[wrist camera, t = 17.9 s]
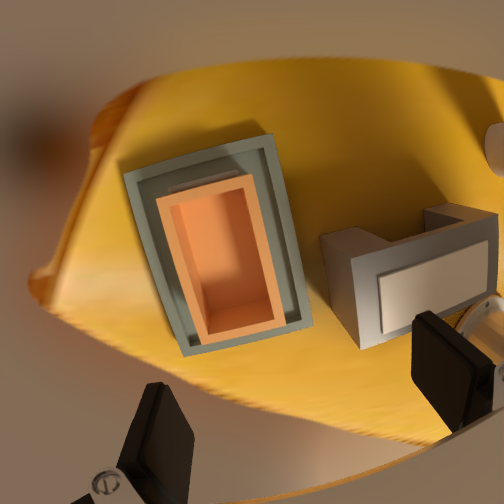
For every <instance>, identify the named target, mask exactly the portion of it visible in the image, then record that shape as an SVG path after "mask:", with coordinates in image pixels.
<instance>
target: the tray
mask: <svg viewBox="0 0 504 504" xmlns="http://www.w3.org/2000/svg"><path fill="white" fill-rule="evenodd" d="M232 170H237V171H238V172H239V175H244V174H252V176H253V180H254V184H255V189H256V193H257V197H258V201H259V206H260V210H261V214H262V218H263V223H264V227H265V231H266V236H267V240H268V245H269V249H270V253H271V258H272V262H273V267H274V271H275V275H276V280H277V284H278V289H279V293H280V298H281V303H282V307H283V312H284V316H285V321H286V326H282V327H278V328H274V329H270V330H266V331H262V332H258V333H254V334H250V335H246V336H242V337H237V338H233V339H228V340H224V341H219V342H215V343H210V344H205V345H202V344H201V342H200V339H199V336H198V333H197V330H196V328H195V325H194V322H193V319H192V316H191V313H190V310H189V307H188V304H187V301H186V298H185V295H184V292H183V289H182V286H181V283H180V280H179V277H178V274H177V271H176V267H175V264H174V261H173V258H172V254H171V251H170V248H169V244H168V241H167V237H166V234H165V231H164V227H163V224H162V220H161V216H160V213H159V209H158V205H157V202H156V199H157V198H160V197H162V196H165V195H168V194H170V193H169V192H168V188H169V187H172V186H175V185H179V184H182V183H186V182H190V181H193V180H197V179H201V178H205V177H208V176H212V175H216V174H220V173H224V172H228V171H232ZM239 175H238V176H239ZM123 176H124V180H125V184H126V188H127V191H128V195H129V199H130V202H131V206H132V210H133V213H134V217H135V220H136V224H137V227H138V230H139V234H140V237H141V240H142V243H143V247H144V250H145V253H146V256H147V259H148V262H149V265H150V268H151V271H152V274H153V277H154V280H155V283H156V286H157V289H158V291H159V294H160V297H161V300H162V303H163V305H164V308H165V311H166V313H167V316H168V319H169V321H170V324H171V327H172V329H173V332H174V334H175V337H176V339H177V342H178V344H179V347H180V349H181V352H182V354H183V357H187V356H192V355H197V354H201V353H206V352H211V351H216V350H220V349H225V348H229V347H234V346H238V345H242V344H247V343H251V342H255V341H259V340H263V339H267V338H271V337H275V336H279V335H282V334H286V333H290V332H294V331H297V330H301V329H304V328H308V327H312V326H314V325H313V319H312V314H311V308H310V303H309V297H308V292H307V287H306V282H305V277H304V271H303V266H302V261H301V256H300V252H299V247H298V242H297V237H296V232H295V228H294V223H293V218H292V214H291V209H290V205H289V200H288V196H287V191H286V187H285V183H284V178H283V174H282V170H281V165H280V161H279V157H278V153H277V149H276V145H275V141H274V137H273V133H271V134H266V135H262V136H257V137H253V138H248V139H244V140H239V141H235V142H231V143H227V144H223V145H219V146H215V147H211V148H208V149H204V150H200V151H196V152H193V153H189V154H186V155H182V156H179V157H175V158H172V159H169V160H165V161H162V162H159V163H156V164H152V165H149V166H146V167H143V168H140V169H137V170H134V171H131V172H128V173H125V174H123Z"/></svg>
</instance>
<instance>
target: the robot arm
mask: <svg viewBox="0 0 504 504" xmlns="http://www.w3.org/2000/svg"><path fill="white" fill-rule="evenodd" d="M411 377H412V380H413V382H414V383H415V385H416V386H417V387H418V388H419V390H420V391H421V392H422V393H423V395H424V396H425V397H426V399H427V400H428V401H429V403H430V404H431V405H432V406H433V408H434V409H435V410H436V412H437V413H438V414H439V416H440V417H441V418H442V420H443V421H444V422H445V424H446V425H447V426H448V428H449V429H450V430H451V432H452V434H451V435H449V436H447V437H445V438H443V439H441V440H439V441H437V442H435V443H433V444H431V445H428V446H426V447H424V448H422V449H420V450H418V451H416V452H413V453H411V454H409V455H406V456H404V457H402V458H399V459H397V460H394V461H392V462H389V463H387V464H384V465H382V466H379V467H377V468H374V469H371V470H368V471H365V472H362V473H360V474H356V475H353V476H350V477H347V478H344V479H340V480H337V481H334V482H330V483H327V484H323V485H319V486H315V487H311V488H307V489H303V490H299V491H294V492H289V493H285V494H280V495H274V496H269V497H264V498H257V499H250V500H243V501H235V502H226V503H215V504H504V299H503V298H502V297H500V296H498V295H494V294H492V295H490V296H489V297H487V298H485V299H483V300H481V301H479V302H477V303H475V304H473V305H472V306H471V307H470V308H469V309H468V311H467V312H466V313H465V314H464V315H463V317H462V318H461V320H460V321H459V323H458V325H457V327H456V328H455V329H453V328H452V327H451V326H450V325H448V324H447V323H446V322H445V321H443V320H442V319H441V318H440V317H438V316H437V315H436V314H434V313H433V312H432V311H430V310H427V311H425V312H422V313H419V314H417V315H416V316H415V319H414V320H413V321H412V360H411ZM194 441H195V439H194V433H193V431H192V429H191V427H190V425H189V424H188V422H187V420H186V418H185V416H184V414H183V413H182V411H181V409H180V407H179V405H178V403H177V401H176V399H175V397H174V395H173V393H172V391H171V389H170V387H169V386H168V385H164V383H163V382H156V383H149V384H147V385H146V388H145V390H144V393H143V395H142V398H141V401H140V403H139V406H138V409H137V411H136V414H135V417H134V419H133V421H132V423H131V426H130V429H129V431H128V434H127V437H126V439H125V443H124V445H123V448H122V451H121V454H120V457H119V460H118V463H117V466H116V468H113V467H107V468H103V469H101V470H98V471H97V472H96V473H94V474H93V476H91V478H90V480H89V482H88V490H89V493H88V494H87V495H85V496H83V497H81V498H80V499H78V500H76V501H75V502H73V503H71V504H187V502H188V492H189V484H190V475H191V466H192V457H193V449H194Z"/></svg>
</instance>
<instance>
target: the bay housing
mask: <svg viewBox="0 0 504 504" xmlns="http://www.w3.org/2000/svg"><path fill="white" fill-rule="evenodd" d="M423 213H424V222H425V233H421V234H418V235H415V236H411V237H408V238H404V239H401V240H397V241H394V242H389V241H387V240H385V239H383V238H380V237H378V236H376V235H374V234H372V233H370V232H368V231H366V230H363V229H361V228H359V227H357V226H356V227H352V228H348V229H344V230H340V231H336V232H332V233H328V234H324V235H320V236H319V237H320V242H321V248H322V253H323V259H324V265H325V271H326V276H327V283H328V289H329V295H330V301H331V308H332V311H333V313H334V314H335V315H336V317H337V318H338V319H339V321H340V322H341V324H342V325H343V326H344V328H345V329H346V331H347V332H348V333H349V335H350V336H351V338H352V339H353V340H354V342H355V343H356V345H357V346H358V347H359V349H360V350H363V349H366V348H369V347H372V346H375V345H377V344H380V343H383V342H386V341H388V340H391V339H394V338H396V337H399V336H401V335H404V334H407V333H409V332H412V321H413V320H414V319H415V316H416V315H417V314H419V313H422V312H425V311H427V310H430V311H432V312H433V313H434V314H436V315H437V316H438V317H440V318H441V319H442V318H445V317H447V316H449V315H451V314H453V313H456V312H458V311H460V310H462V309H464V308H466V307H468V306H470V305H473V304H475V303H477V302H479V301H481V300H483V299H485V298H487V297H489V296H490V295H492V294H494V293H496V289H497V275H498V249H499V229H498V214H496V213H492V212H488V211H484V210H479V209H475V208H471V207H466V206H462V205H457V204H453V203H446V204H442V205H438V206H434V207H430V208H426V209H423Z"/></svg>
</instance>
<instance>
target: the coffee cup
mask: <svg viewBox="0 0 504 504" xmlns="http://www.w3.org/2000/svg"><path fill="white" fill-rule="evenodd" d="M484 146H485V154H486V159H487V162H488V164H489V166H490V168H491V170H492V171H493V172H494V173H495V174H496V175H497V176H499V177H504V122H502V123H497V124H492V125H491V126H490V127H489V128H488V130H487V132H486V135H485V142H484Z"/></svg>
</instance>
